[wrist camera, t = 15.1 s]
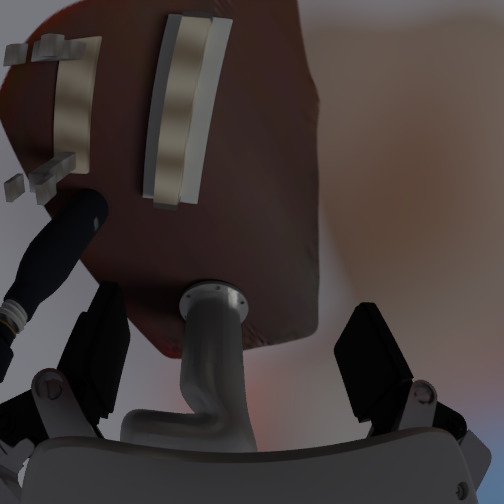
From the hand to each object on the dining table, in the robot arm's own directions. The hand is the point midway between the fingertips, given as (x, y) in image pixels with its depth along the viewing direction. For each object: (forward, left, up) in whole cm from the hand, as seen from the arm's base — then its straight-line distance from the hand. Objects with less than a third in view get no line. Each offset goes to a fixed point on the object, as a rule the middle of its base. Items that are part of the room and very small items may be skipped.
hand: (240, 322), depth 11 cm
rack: (+4, +23, -30) cm, 38 cm away
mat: (+4, +7, -30) cm, 31 cm away
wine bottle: (-12, +20, -30) cm, 38 cm away
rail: (+4, +7, -29) cm, 30 cm away
